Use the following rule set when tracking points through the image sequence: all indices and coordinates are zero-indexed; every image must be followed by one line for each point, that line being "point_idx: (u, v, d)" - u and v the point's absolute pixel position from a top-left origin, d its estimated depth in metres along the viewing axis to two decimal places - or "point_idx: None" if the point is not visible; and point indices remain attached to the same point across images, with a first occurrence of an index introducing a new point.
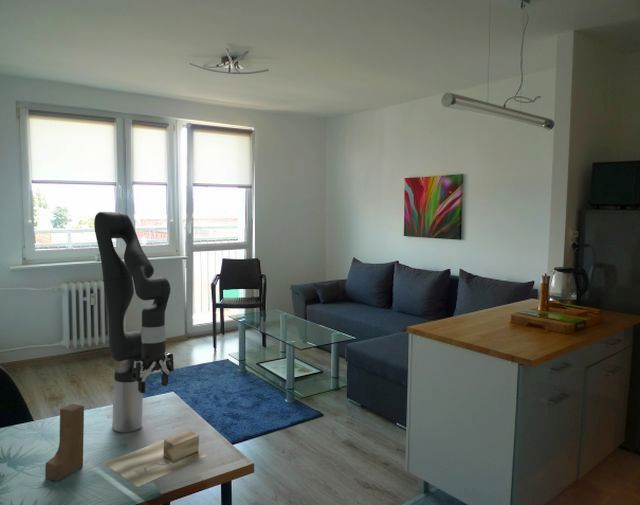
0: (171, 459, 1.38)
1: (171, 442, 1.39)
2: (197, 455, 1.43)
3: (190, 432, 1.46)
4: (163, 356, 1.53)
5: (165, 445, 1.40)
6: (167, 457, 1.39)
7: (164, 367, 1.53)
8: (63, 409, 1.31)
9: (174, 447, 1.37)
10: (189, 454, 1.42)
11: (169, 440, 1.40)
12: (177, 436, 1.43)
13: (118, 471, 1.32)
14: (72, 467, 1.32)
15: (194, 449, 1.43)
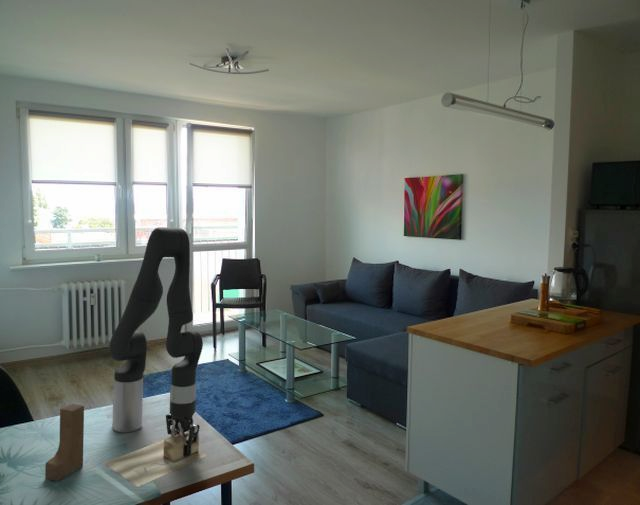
0: (171, 459, 1.38)
1: (171, 442, 1.39)
2: (197, 455, 1.43)
3: None
4: None
5: (165, 445, 1.40)
6: (167, 457, 1.39)
7: None
8: (63, 409, 1.31)
9: (174, 447, 1.37)
10: None
11: (169, 440, 1.40)
12: (177, 436, 1.43)
13: (118, 471, 1.32)
14: (72, 467, 1.32)
15: (194, 449, 1.43)
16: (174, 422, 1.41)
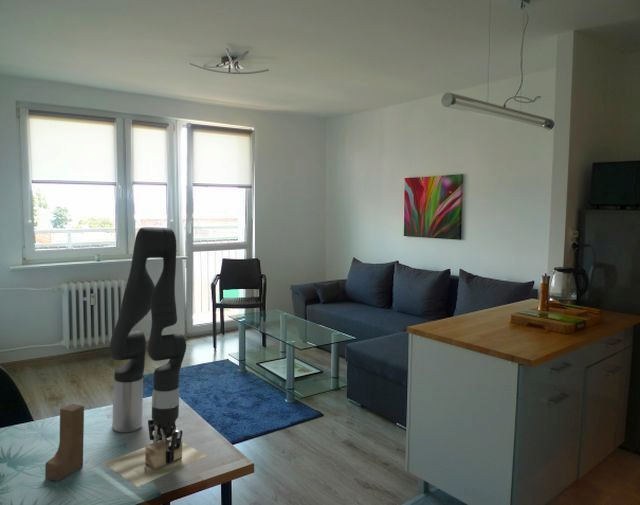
0: (153, 466, 1.33)
1: (153, 448, 1.34)
2: (197, 455, 1.43)
3: None
4: None
5: (146, 451, 1.35)
6: (149, 464, 1.34)
7: None
8: (63, 409, 1.31)
9: (156, 454, 1.33)
10: None
11: (151, 446, 1.35)
12: (159, 442, 1.38)
13: (118, 471, 1.32)
14: (72, 467, 1.32)
15: (177, 455, 1.38)
16: (156, 428, 1.36)
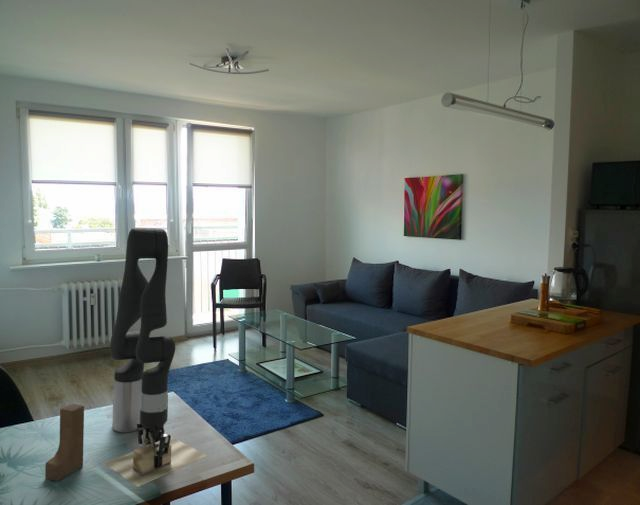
0: (140, 471, 1.31)
1: (141, 452, 1.31)
2: (197, 455, 1.43)
3: None
4: None
5: (134, 455, 1.32)
6: (137, 469, 1.32)
7: None
8: (63, 409, 1.31)
9: (143, 458, 1.30)
10: None
11: (139, 451, 1.32)
12: (148, 446, 1.35)
13: (118, 471, 1.32)
14: (72, 467, 1.32)
15: (166, 460, 1.36)
16: (144, 432, 1.34)
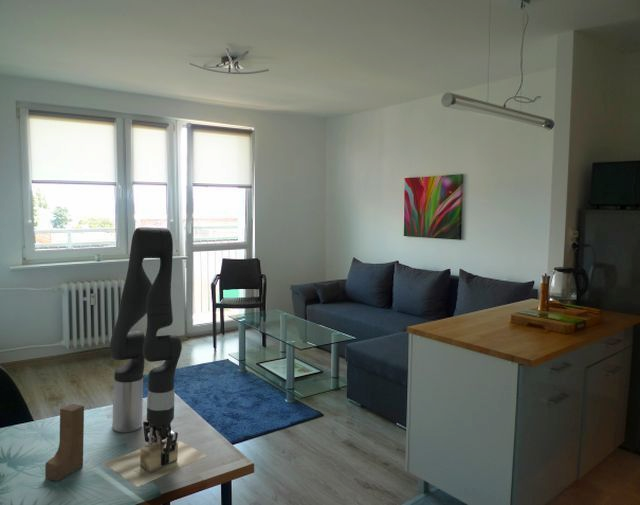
0: (148, 468, 1.32)
1: (148, 450, 1.33)
2: (197, 455, 1.43)
3: None
4: None
5: (141, 453, 1.34)
6: (144, 467, 1.33)
7: None
8: (63, 409, 1.31)
9: (151, 456, 1.31)
10: None
11: (146, 448, 1.34)
12: (155, 444, 1.36)
13: (118, 471, 1.32)
14: (72, 467, 1.32)
15: (173, 457, 1.37)
16: (151, 429, 1.35)
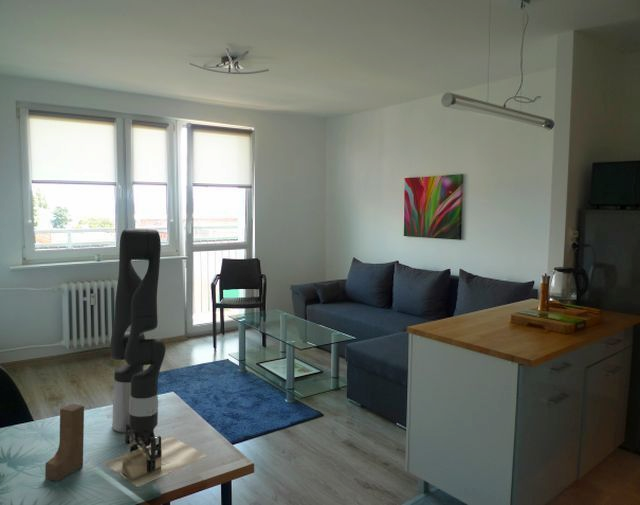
0: (130, 476, 1.28)
1: (130, 458, 1.29)
2: (197, 455, 1.43)
3: None
4: None
5: (123, 461, 1.30)
6: (126, 474, 1.29)
7: None
8: (63, 409, 1.31)
9: (133, 463, 1.27)
10: None
11: (128, 456, 1.30)
12: (138, 451, 1.32)
13: (118, 471, 1.32)
14: (72, 467, 1.32)
15: (156, 465, 1.33)
16: (134, 436, 1.31)
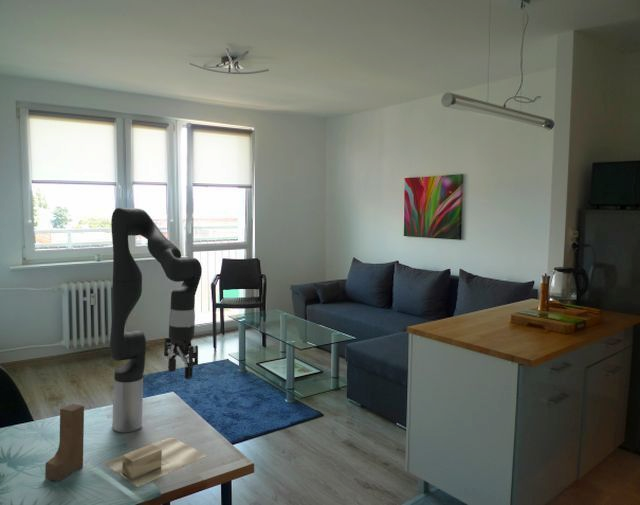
0: (130, 476, 1.28)
1: (130, 458, 1.29)
2: (197, 455, 1.43)
3: (152, 446, 1.36)
4: None
5: (123, 461, 1.30)
6: (126, 474, 1.29)
7: None
8: (63, 409, 1.31)
9: (133, 463, 1.27)
10: (150, 470, 1.32)
11: (128, 456, 1.30)
12: (138, 451, 1.32)
13: (118, 471, 1.32)
14: (72, 467, 1.32)
15: (156, 465, 1.33)
16: (173, 347, 1.43)
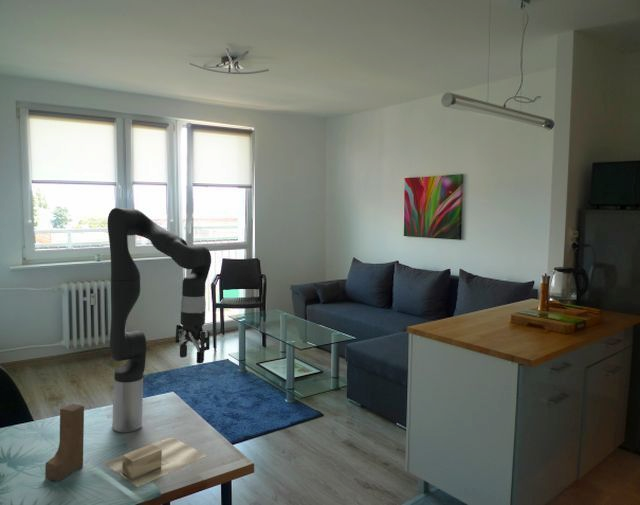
0: (130, 476, 1.28)
1: (130, 458, 1.29)
2: (197, 455, 1.43)
3: (152, 446, 1.36)
4: None
5: (123, 461, 1.30)
6: (126, 474, 1.29)
7: None
8: (63, 409, 1.31)
9: (133, 463, 1.27)
10: (150, 470, 1.32)
11: (128, 456, 1.30)
12: (138, 451, 1.32)
13: (118, 471, 1.32)
14: (72, 467, 1.32)
15: (156, 465, 1.33)
16: (184, 332, 1.48)
